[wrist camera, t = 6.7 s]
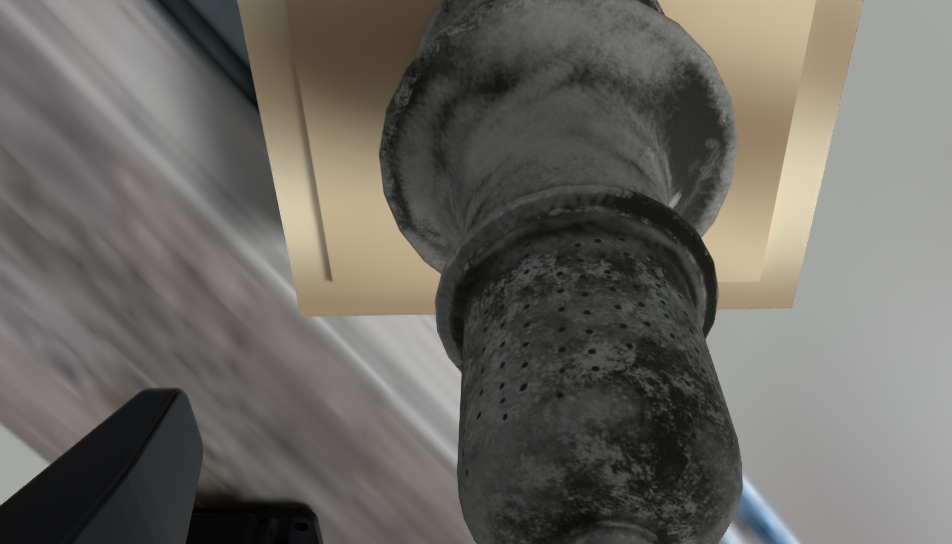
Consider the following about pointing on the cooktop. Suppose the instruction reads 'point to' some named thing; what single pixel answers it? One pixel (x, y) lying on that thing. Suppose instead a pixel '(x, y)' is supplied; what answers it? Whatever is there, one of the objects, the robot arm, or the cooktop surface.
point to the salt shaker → (573, 264)
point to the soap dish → (396, 45)
